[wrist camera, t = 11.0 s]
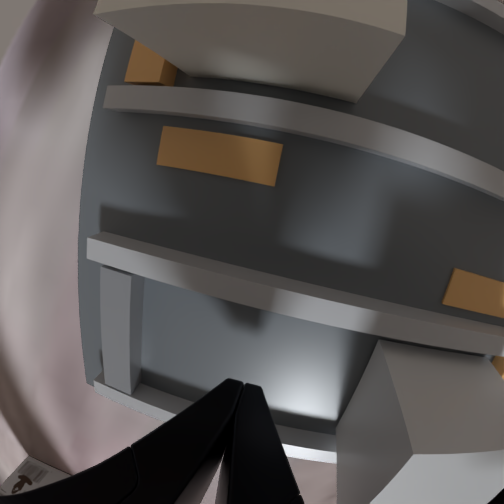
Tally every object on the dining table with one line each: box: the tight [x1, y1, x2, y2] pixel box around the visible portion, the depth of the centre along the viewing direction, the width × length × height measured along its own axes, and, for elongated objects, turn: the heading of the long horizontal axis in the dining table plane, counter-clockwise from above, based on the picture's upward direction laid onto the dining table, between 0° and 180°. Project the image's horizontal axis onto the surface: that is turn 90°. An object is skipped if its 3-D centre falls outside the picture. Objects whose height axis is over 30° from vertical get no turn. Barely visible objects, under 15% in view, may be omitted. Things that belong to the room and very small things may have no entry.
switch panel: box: [78, 0, 504, 464], centre depth 7 cm, size 16×16×2 cm
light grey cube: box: [336, 339, 504, 504], centre depth 6 cm, size 4×4×4 cm
